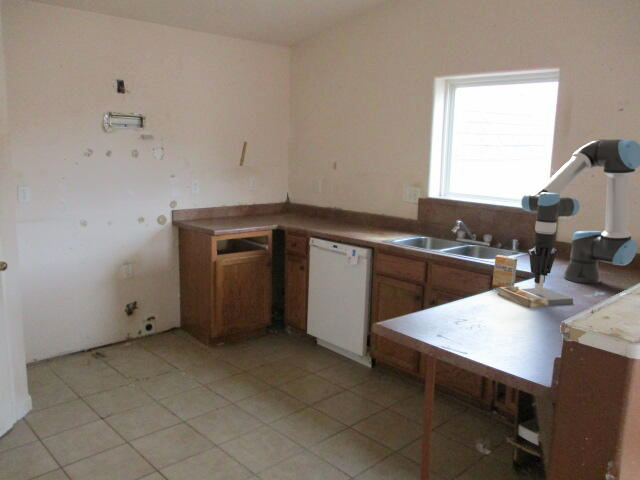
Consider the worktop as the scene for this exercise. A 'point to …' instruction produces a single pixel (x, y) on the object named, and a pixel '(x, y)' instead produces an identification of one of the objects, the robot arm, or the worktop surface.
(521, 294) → the ball
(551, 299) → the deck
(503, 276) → the supplement box
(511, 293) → the wooden tray frame
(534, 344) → the worktop surface
